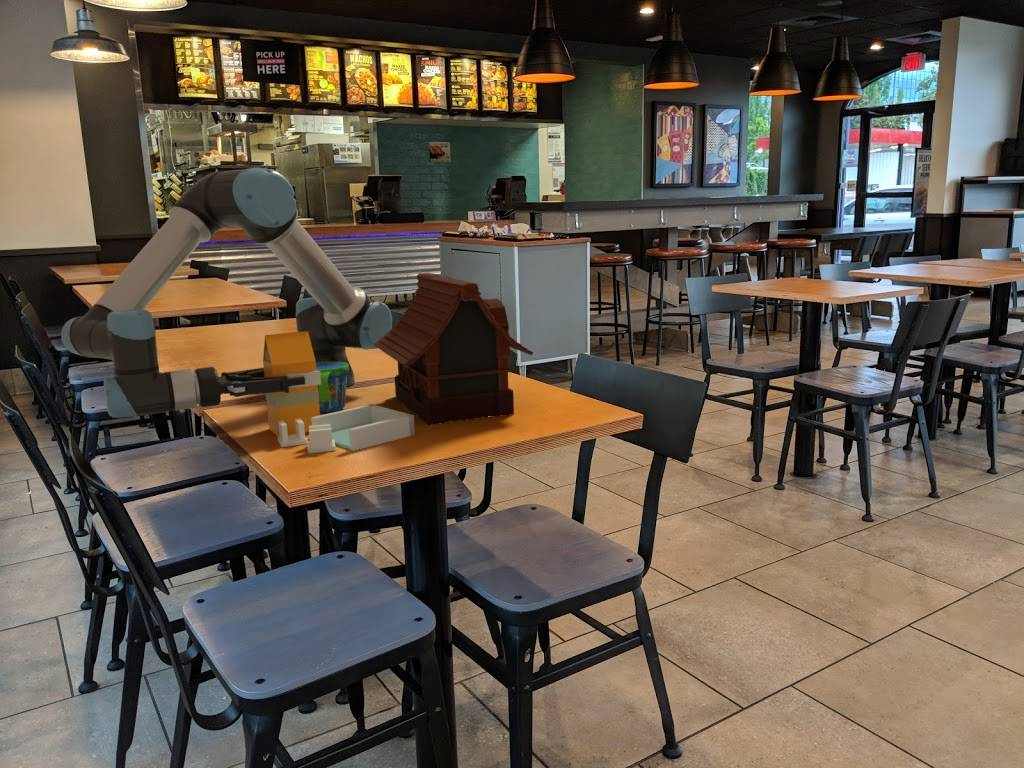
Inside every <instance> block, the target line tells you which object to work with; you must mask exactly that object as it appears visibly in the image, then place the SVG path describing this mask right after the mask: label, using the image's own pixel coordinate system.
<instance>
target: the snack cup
mask: <svg viewBox="0 0 1024 768" xmlns="http://www.w3.org/2000/svg"><path fill="white" fill-rule="evenodd" d="M316 371H320V377H321V384H320V385H318V393H319V409H320V413H333V412H338V411H342V410H343V409H344V408H345V406H346V399H347V396H346V395H347V387H346V386H347V373H348V372H349V365H348V363H345V362H319V363H316Z"/></svg>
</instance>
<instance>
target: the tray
mask: <svg viewBox="0 0 1024 768" xmlns="http://www.w3.org/2000/svg"><path fill="white" fill-rule="evenodd" d="M311 421H312V426H313V425H324V424H331V431H332V440H333V439H334V440H335V446H339V447H341V448H344V449H347V450H349V451H353V452H356V451H359V449H360V450H362V449H366V448H370V447H374V446H378V445H382V444H385V443H389V442H392V441H397V440H401V439H404V438H407V437H408V438H409V437H412V436H415V435H416V432H415V428H416V427H415V415H414V414H410V413H408V412H407V413H406V412H404V411H399V410H395V409H391V408H388V407H383V406H380V405H376V404H371V403H370V404H366V405H361V406H357V407H353V408H352V407H351V408H348V409H344V410H343V409H342V410H337V411H332V412H328V413H326V414H320V416H315V417H311Z"/></svg>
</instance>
